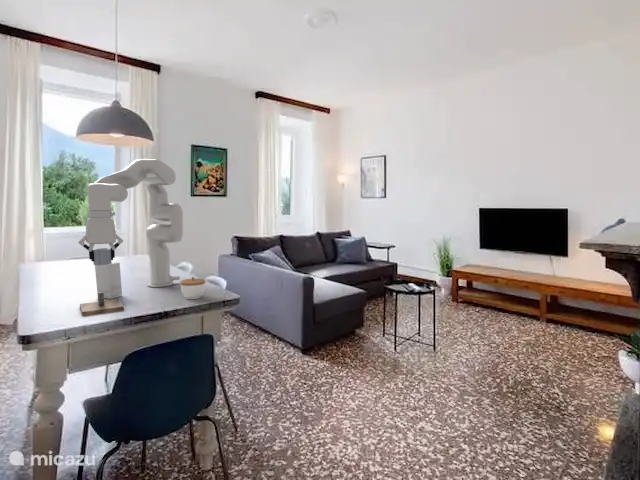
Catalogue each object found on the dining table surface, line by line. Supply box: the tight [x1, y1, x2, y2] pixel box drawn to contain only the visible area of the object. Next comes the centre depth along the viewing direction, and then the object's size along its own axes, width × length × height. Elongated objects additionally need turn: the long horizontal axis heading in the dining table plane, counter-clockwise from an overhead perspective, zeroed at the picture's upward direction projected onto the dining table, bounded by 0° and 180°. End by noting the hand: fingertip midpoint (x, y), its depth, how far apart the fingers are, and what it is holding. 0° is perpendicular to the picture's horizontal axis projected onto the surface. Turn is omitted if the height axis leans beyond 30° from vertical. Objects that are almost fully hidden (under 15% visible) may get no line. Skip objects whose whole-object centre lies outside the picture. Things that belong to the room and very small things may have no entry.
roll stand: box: [79, 292, 125, 317], centre depth 151 cm, size 14×14×6 cm
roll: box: [92, 247, 112, 266], centre depth 150 cm, size 6×6×6 cm
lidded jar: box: [180, 276, 206, 300], centre depth 170 cm, size 11×11×9 cm
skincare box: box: [94, 261, 123, 300], centre depth 170 cm, size 8×7×16 cm
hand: (102, 260), depth 150 cm, fingers closed on roll, 5 cm apart
